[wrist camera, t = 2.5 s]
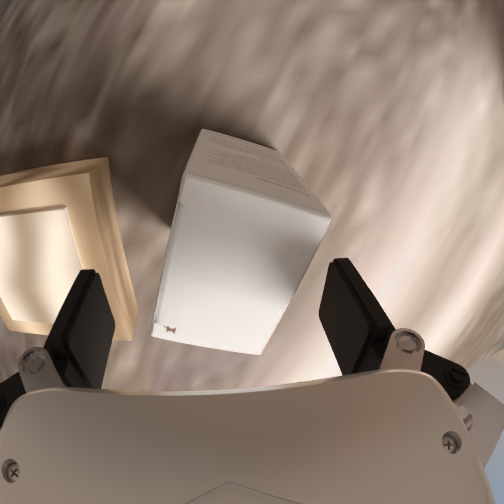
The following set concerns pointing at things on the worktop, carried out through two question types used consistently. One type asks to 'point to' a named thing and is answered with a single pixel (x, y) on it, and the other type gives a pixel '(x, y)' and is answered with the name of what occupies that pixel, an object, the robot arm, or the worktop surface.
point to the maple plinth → (60, 244)
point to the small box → (235, 246)
